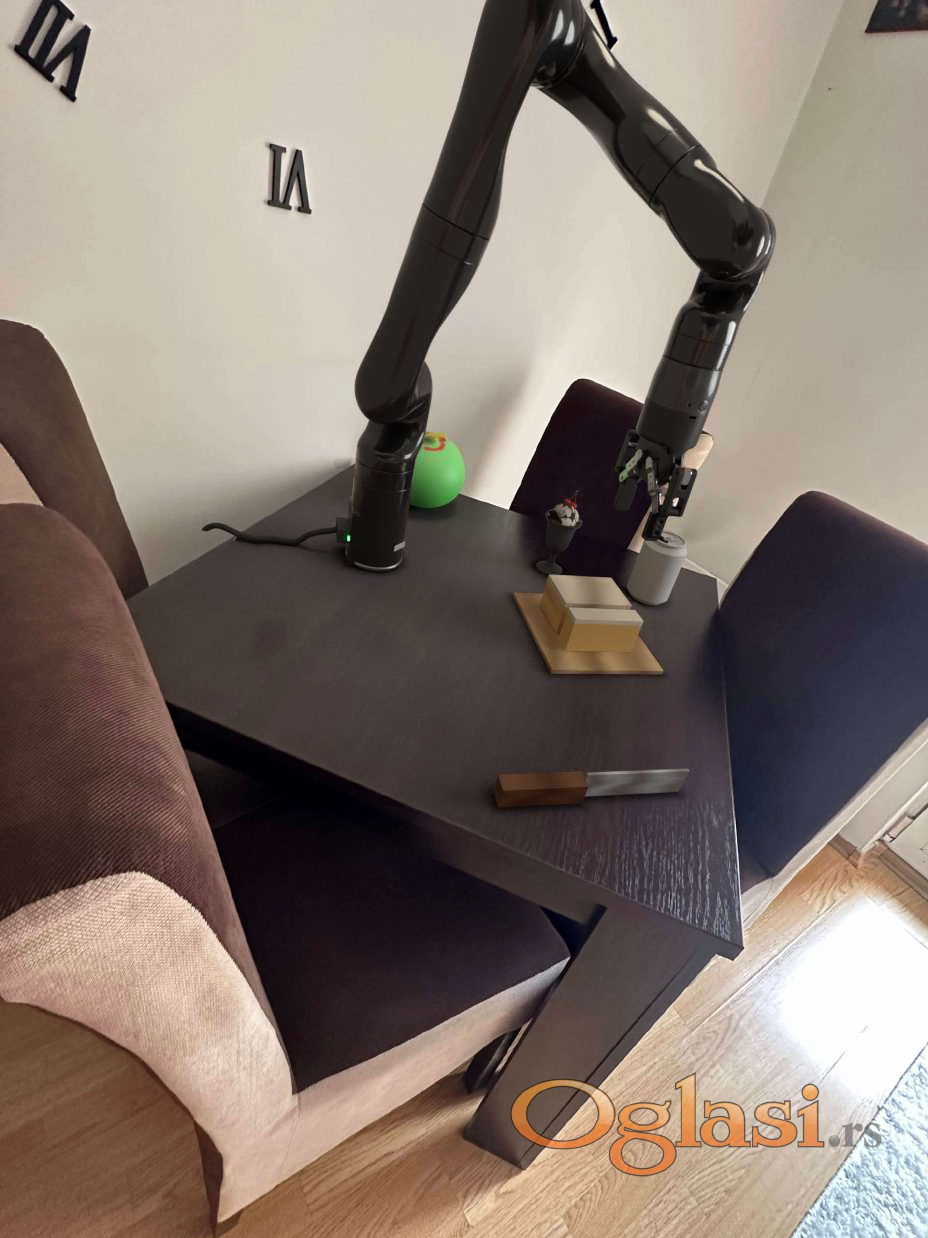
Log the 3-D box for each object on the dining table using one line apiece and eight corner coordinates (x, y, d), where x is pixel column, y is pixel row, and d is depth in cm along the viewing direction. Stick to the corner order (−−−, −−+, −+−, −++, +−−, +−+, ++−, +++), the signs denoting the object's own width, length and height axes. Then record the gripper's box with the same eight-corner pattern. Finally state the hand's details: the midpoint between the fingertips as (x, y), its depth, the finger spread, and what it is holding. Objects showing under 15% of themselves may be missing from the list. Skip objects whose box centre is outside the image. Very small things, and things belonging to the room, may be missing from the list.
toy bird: (465, 525, 127) (480, 453, 119) (378, 517, 122) (388, 442, 114) (450, 487, 141) (462, 420, 133) (372, 479, 137) (380, 409, 129)
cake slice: (564, 651, 96) (575, 619, 93) (558, 639, 98) (568, 607, 95) (630, 652, 99) (643, 621, 96) (622, 640, 101) (635, 609, 98)
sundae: (566, 563, 121) (589, 488, 113) (567, 581, 116) (592, 503, 107) (531, 556, 121) (552, 480, 113) (531, 573, 115) (553, 495, 107)
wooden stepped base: (550, 674, 92) (563, 636, 88) (512, 596, 108) (521, 561, 104) (662, 674, 97) (678, 639, 93) (609, 600, 113) (621, 567, 109)
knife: (497, 808, 70) (504, 785, 68) (492, 791, 72) (499, 769, 70) (682, 798, 76) (693, 777, 75) (673, 783, 78) (684, 762, 76)
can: (620, 582, 119) (642, 523, 112) (658, 587, 120) (681, 529, 114) (632, 605, 113) (656, 544, 106) (672, 609, 114) (698, 550, 107)
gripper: (624, 379, 81) (587, 499, 90) (681, 417, 70) (633, 549, 79) (676, 386, 83) (635, 502, 92) (739, 424, 72) (685, 552, 81)
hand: (634, 524), depth 86 cm, fingers open, 8 cm apart
